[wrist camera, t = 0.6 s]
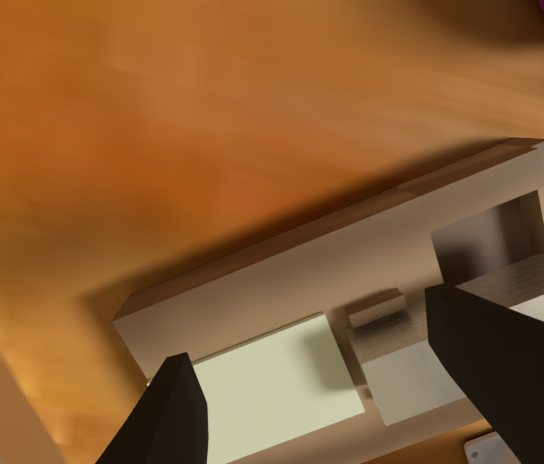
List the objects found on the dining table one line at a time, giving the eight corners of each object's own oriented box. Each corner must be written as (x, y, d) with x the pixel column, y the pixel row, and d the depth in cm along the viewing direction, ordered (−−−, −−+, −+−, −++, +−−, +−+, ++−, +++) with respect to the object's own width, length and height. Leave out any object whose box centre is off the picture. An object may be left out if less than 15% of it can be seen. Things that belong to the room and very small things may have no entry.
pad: (363, 407, 21) (365, 411, 21) (203, 467, 22) (202, 472, 22) (323, 311, 19) (324, 314, 19) (148, 380, 20) (146, 384, 20)
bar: (551, 314, 20) (601, 346, 17) (366, 384, 21) (385, 426, 18) (539, 253, 19) (591, 276, 16) (344, 329, 20) (360, 364, 17)
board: (555, 347, 24) (609, 387, 21) (232, 467, 26) (229, 524, 22) (515, 137, 20) (573, 140, 16) (129, 295, 22) (104, 330, 18)
